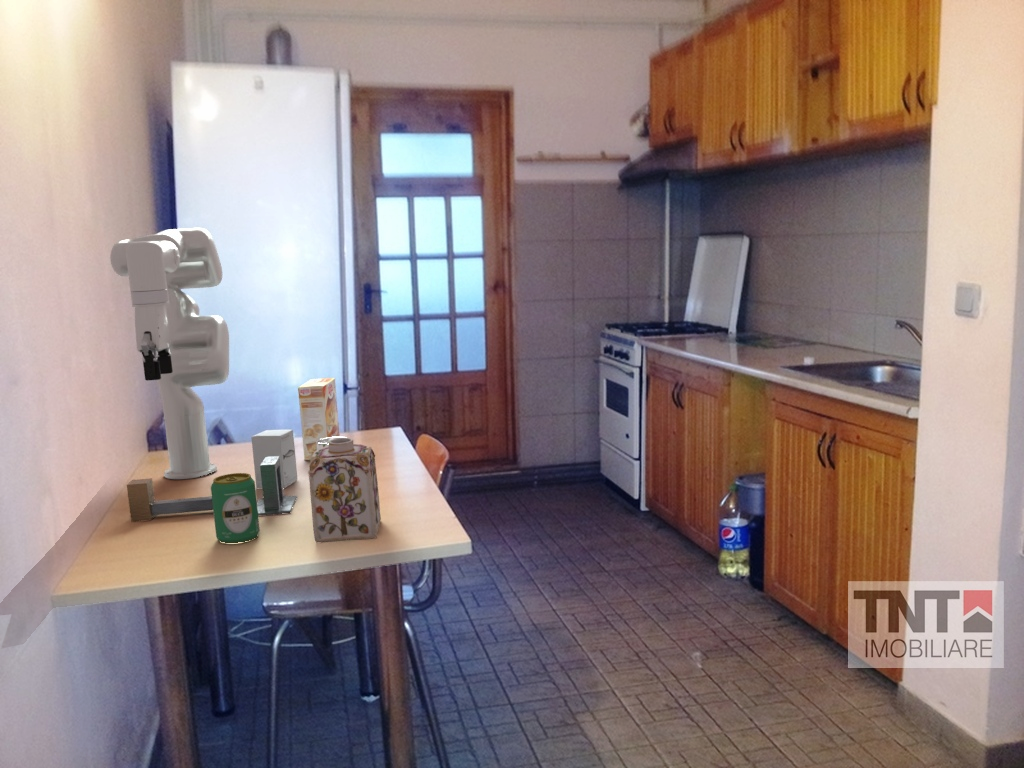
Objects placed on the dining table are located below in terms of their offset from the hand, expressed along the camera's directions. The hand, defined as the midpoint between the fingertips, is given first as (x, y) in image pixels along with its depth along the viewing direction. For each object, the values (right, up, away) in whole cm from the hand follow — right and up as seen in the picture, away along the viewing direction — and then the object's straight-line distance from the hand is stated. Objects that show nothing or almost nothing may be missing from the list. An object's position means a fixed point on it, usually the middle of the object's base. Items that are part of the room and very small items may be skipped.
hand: (159, 376), depth 196 cm
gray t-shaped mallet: (+10, -29, -8) cm, 32 cm away
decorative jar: (+47, -30, -25) cm, 61 cm away
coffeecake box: (+27, -21, +43) cm, 55 cm away
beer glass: (+42, -28, -11) cm, 52 cm away
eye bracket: (+27, -28, -6) cm, 39 cm away
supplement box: (+23, -26, +13) cm, 36 cm away
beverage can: (+25, -31, -26) cm, 48 cm away
